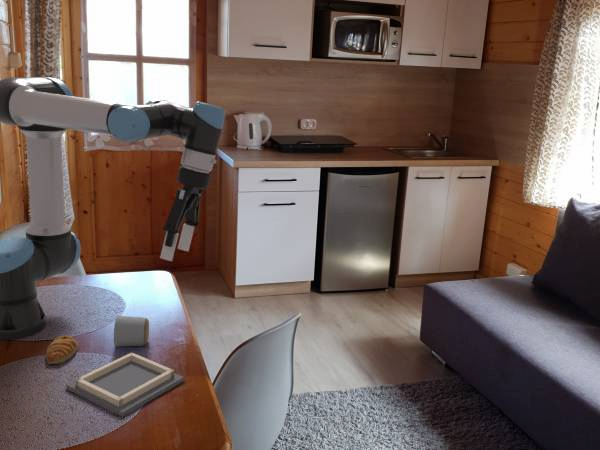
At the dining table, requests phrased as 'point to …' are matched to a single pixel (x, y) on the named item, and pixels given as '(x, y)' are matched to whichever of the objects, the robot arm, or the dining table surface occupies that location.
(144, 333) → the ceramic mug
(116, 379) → the tray
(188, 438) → the dining table surface
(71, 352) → the pastry
